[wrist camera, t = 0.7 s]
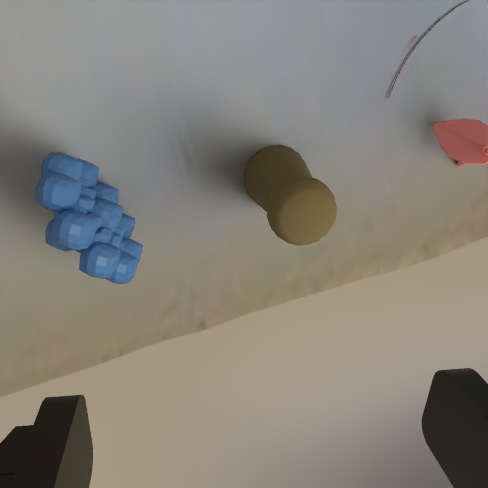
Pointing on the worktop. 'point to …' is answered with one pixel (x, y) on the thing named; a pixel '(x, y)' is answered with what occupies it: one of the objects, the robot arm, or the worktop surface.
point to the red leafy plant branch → (462, 136)
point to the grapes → (87, 218)
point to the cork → (290, 195)
